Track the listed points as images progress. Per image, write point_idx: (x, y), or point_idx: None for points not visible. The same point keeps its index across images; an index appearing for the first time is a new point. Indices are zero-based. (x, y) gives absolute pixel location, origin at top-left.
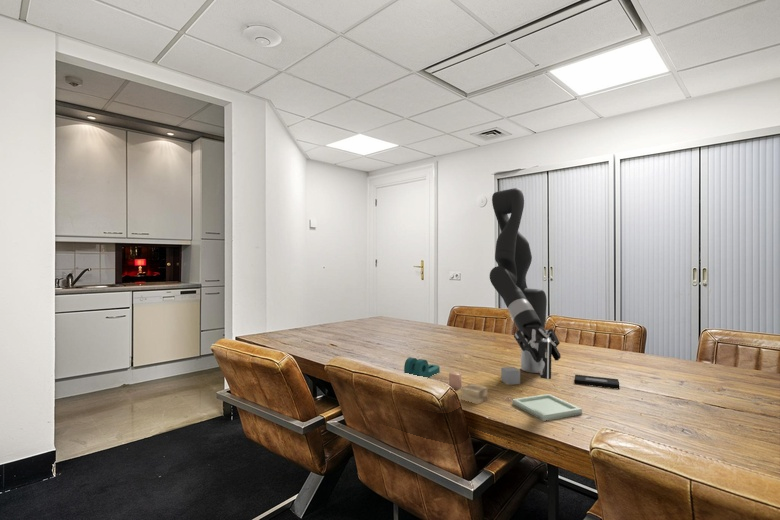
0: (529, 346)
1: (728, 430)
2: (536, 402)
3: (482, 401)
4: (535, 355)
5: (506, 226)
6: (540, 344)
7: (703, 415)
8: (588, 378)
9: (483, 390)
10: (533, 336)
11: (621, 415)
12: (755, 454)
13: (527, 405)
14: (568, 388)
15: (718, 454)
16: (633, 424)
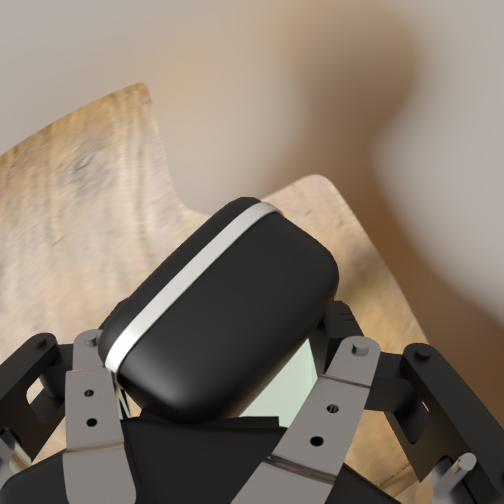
0: (386, 367)
1: (40, 155)
2: (247, 409)
3: (394, 476)
4: (347, 313)
5: None
6: (334, 260)
7: (2, 202)
8: None
9: (403, 489)
10: (327, 426)
11: (94, 250)
12: (100, 105)
13: (314, 376)
14: (49, 456)
15: (136, 109)
16: (123, 206)
